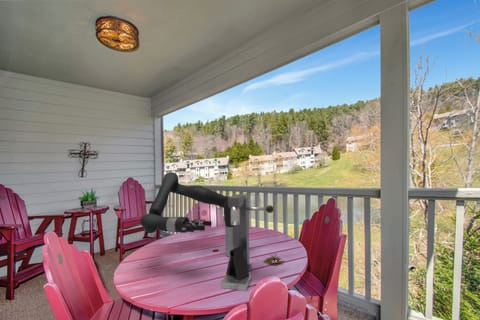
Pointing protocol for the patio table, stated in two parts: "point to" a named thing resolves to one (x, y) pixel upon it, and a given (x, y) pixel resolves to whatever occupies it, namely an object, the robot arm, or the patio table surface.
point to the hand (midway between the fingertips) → (208, 225)
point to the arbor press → (241, 237)
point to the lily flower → (269, 260)
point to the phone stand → (237, 264)
